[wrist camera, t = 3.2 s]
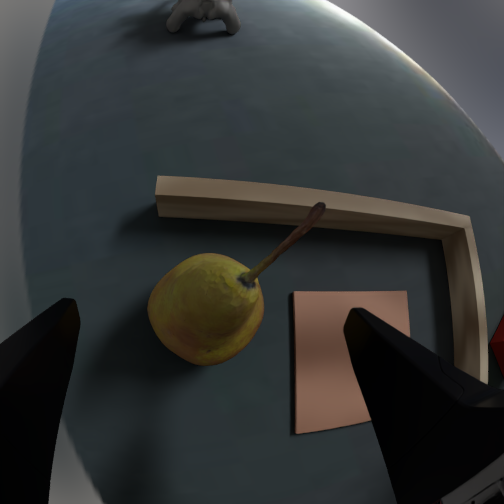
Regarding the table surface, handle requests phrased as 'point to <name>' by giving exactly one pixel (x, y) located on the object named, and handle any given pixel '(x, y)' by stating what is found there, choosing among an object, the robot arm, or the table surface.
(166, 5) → the table surface
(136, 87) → the table surface
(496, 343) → the toy robot
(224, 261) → the fruit
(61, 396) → the robot arm
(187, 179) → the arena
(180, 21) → the elephant statuette
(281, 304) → the table surface
